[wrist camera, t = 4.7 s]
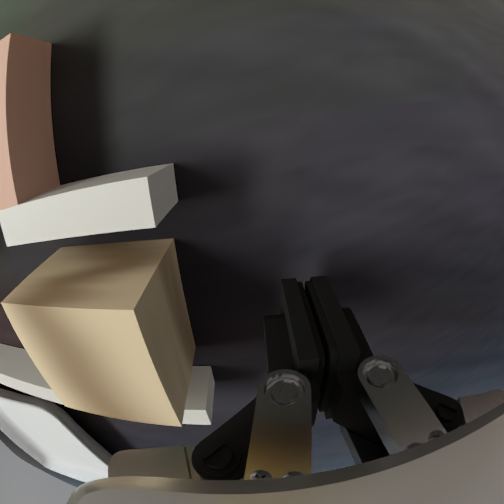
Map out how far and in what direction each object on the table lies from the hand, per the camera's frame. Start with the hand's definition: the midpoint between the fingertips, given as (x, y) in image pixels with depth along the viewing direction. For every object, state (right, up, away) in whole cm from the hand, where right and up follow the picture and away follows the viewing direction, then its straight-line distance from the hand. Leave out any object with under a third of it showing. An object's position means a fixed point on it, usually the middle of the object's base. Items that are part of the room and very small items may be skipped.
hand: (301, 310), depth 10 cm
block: (-8, 0, +2) cm, 8 cm away
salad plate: (-26, -19, +11) cm, 34 cm away
